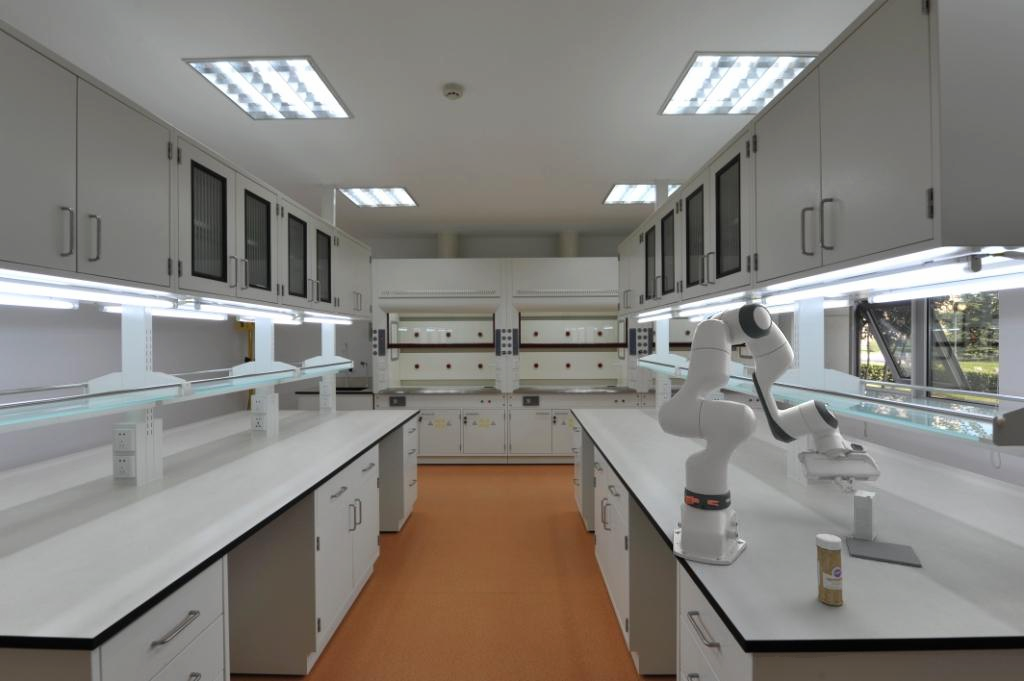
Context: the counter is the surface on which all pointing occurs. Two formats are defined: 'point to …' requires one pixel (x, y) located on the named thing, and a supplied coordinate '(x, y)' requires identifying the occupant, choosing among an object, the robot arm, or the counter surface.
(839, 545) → the sprinkles bottle
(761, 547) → the counter surface
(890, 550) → the mat
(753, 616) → the counter surface
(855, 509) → the skincare box
